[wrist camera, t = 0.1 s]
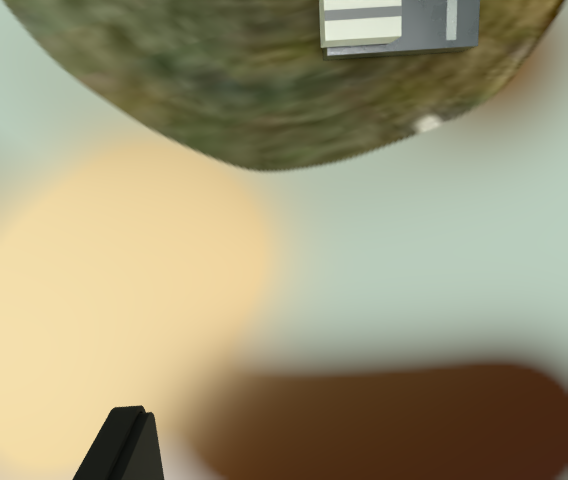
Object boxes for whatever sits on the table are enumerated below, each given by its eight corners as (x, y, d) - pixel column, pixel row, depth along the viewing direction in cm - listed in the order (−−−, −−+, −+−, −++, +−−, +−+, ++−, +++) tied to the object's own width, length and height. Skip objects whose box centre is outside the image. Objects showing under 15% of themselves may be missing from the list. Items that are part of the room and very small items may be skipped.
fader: (319, 1, 33) (323, -11, 30) (390, -3, 33) (401, -15, 30) (320, 47, 34) (325, 40, 31) (390, 43, 34) (402, 35, 31)
